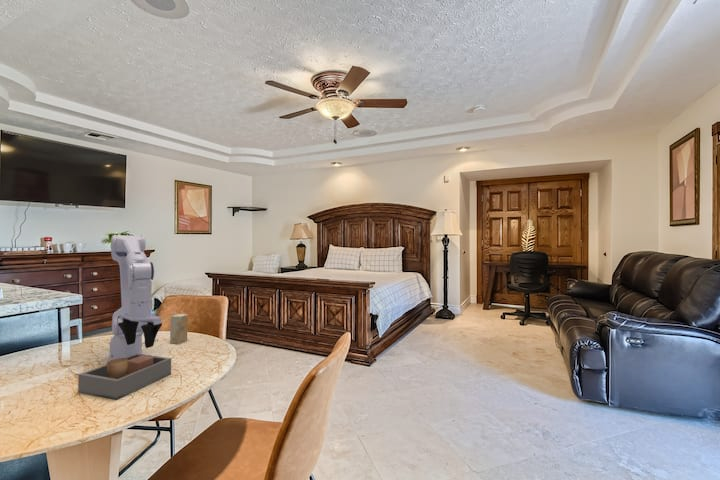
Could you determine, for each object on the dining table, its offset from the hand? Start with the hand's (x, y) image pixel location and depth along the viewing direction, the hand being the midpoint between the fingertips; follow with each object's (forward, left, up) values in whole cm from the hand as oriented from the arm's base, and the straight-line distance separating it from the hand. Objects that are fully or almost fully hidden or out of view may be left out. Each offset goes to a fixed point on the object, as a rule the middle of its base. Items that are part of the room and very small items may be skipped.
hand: (140, 345), depth 106 cm
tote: (0, -4, -10) cm, 11 cm away
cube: (0, 0, -9) cm, 9 cm away
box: (-16, +32, -10) cm, 37 cm away
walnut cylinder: (0, -7, -9) cm, 12 cm away
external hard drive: (-31, +26, -11) cm, 41 cm away
